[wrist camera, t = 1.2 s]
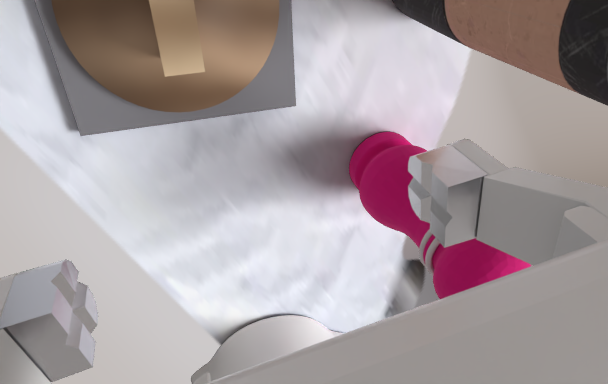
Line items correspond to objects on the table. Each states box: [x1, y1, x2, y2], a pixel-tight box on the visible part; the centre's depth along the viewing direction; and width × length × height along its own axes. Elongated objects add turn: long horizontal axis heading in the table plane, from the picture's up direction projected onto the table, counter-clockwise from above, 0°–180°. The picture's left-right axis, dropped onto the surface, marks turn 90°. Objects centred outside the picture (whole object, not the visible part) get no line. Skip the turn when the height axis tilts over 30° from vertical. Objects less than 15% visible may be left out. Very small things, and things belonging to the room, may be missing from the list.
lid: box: [51, 0, 279, 112], centre depth 27 cm, size 14×14×5 cm
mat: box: [34, 0, 296, 136], centre depth 29 cm, size 16×16×1 cm
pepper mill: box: [349, 132, 531, 299], centre depth 33 cm, size 7×7×20 cm
